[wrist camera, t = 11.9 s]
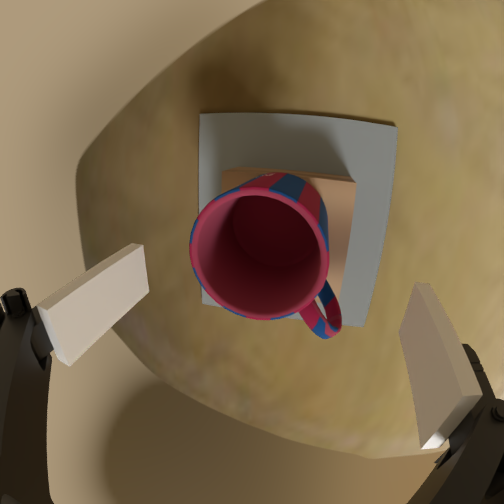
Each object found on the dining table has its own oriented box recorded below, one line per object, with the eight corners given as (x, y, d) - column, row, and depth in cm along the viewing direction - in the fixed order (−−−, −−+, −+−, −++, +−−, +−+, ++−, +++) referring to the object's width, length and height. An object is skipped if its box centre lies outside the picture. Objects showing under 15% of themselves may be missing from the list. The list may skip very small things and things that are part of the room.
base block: (238, 166, 23) (221, 171, 19) (350, 176, 21) (356, 183, 17) (236, 267, 26) (221, 288, 22) (336, 281, 24) (337, 304, 20)
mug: (292, 152, 17) (275, 156, 11) (366, 277, 19) (380, 335, 13) (213, 205, 20) (164, 235, 14) (288, 315, 22) (272, 377, 16)
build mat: (201, 114, 22) (199, 113, 22) (396, 127, 19) (397, 127, 18) (203, 301, 29) (202, 303, 28) (363, 324, 25) (363, 327, 25)
